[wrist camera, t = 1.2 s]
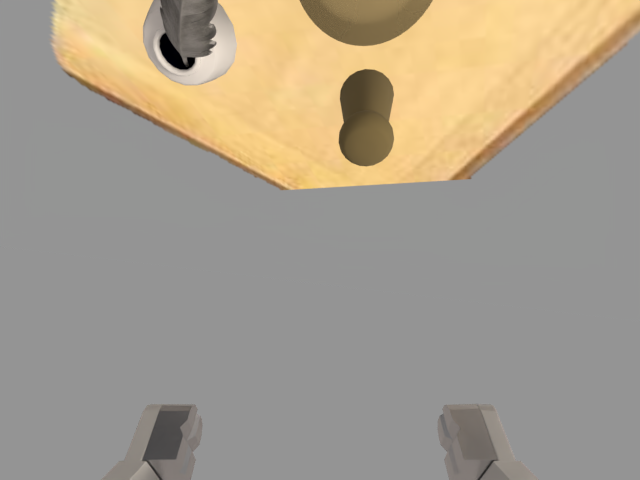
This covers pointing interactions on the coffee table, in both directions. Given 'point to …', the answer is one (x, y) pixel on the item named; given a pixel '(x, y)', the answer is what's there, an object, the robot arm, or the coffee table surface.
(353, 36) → the balance
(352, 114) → the olive brown pawn
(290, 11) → the coffee table surface
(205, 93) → the coffee table surface
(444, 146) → the coffee table surface
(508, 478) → the robot arm
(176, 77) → the inkwell
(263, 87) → the coffee table surface
